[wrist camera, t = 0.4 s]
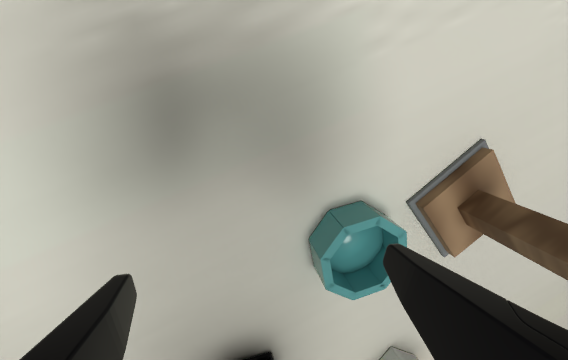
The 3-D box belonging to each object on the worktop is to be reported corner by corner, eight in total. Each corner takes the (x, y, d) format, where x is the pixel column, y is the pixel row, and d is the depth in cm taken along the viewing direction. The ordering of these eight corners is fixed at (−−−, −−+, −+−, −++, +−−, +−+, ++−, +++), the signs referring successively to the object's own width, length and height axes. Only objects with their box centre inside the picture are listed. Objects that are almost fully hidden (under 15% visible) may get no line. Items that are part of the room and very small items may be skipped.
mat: (442, 255, 31) (444, 257, 31) (406, 202, 27) (408, 203, 27) (508, 201, 31) (511, 202, 30) (481, 138, 27) (484, 139, 26)
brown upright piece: (446, 251, 31) (570, 340, 20) (415, 203, 27) (545, 279, 16) (506, 202, 30) (667, 266, 19) (482, 147, 27) (663, 186, 16)
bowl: (354, 284, 30) (370, 307, 27) (295, 258, 27) (304, 281, 23) (400, 224, 28) (423, 241, 25) (343, 189, 25) (360, 204, 22)
